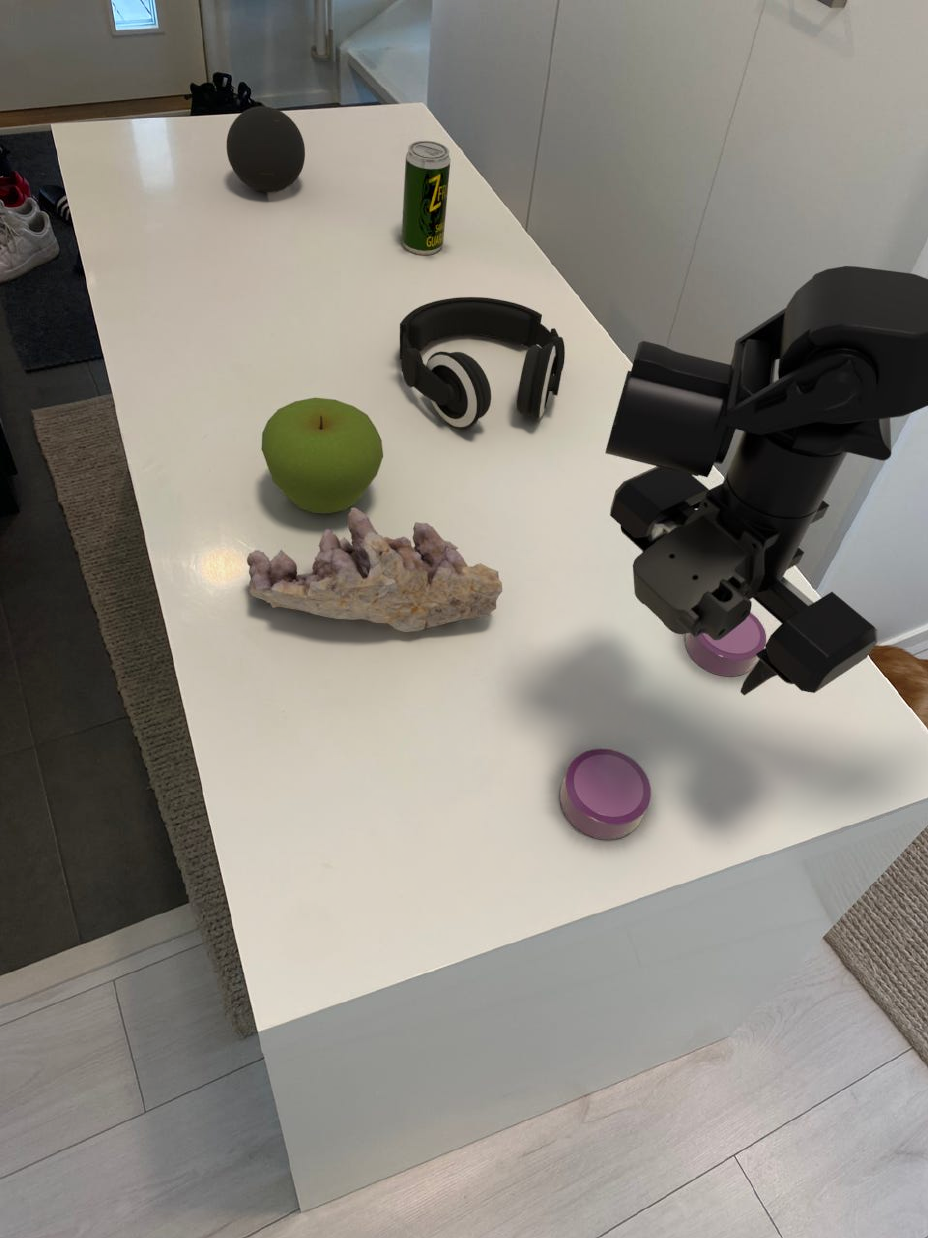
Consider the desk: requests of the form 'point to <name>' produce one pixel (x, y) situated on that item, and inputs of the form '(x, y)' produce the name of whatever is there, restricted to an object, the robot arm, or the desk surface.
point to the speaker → (265, 149)
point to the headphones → (458, 376)
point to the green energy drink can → (425, 197)
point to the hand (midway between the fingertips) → (700, 647)
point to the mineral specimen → (379, 579)
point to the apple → (322, 453)
